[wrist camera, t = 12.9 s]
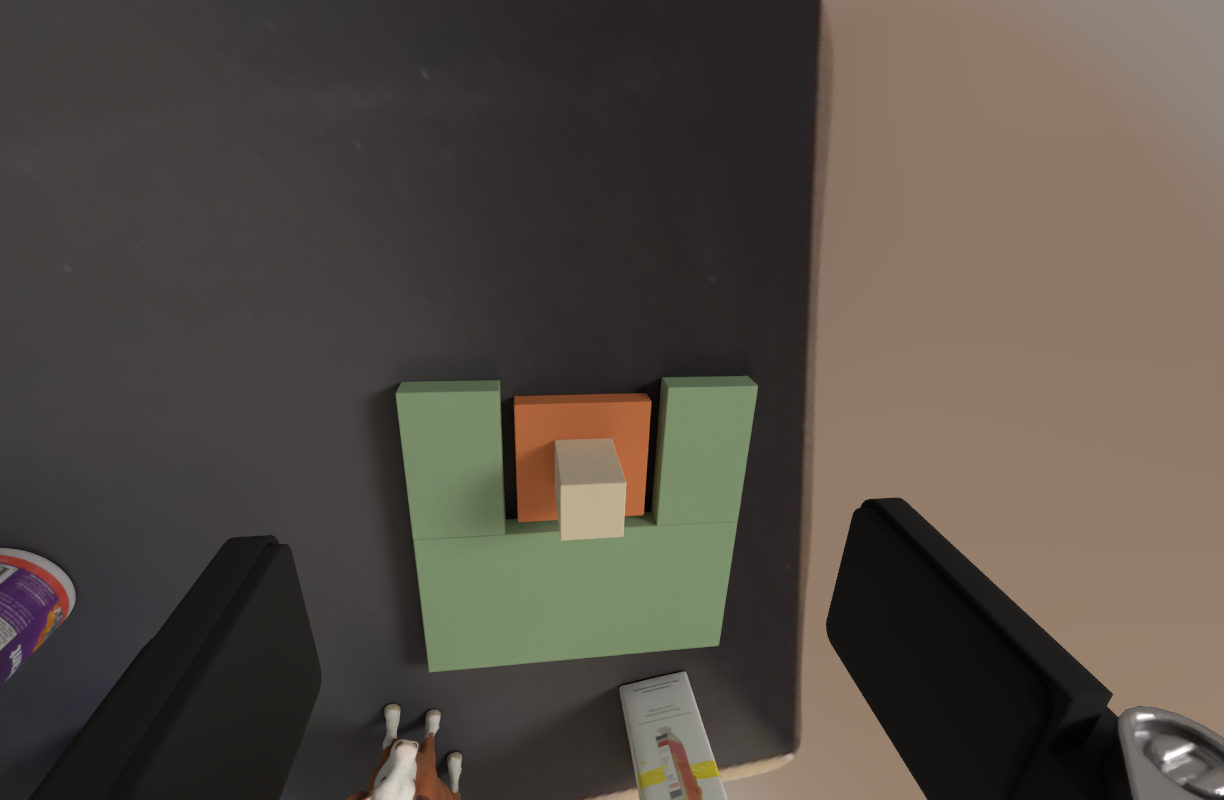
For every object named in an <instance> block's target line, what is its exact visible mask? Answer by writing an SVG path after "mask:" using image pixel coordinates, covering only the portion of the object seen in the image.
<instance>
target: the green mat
mask: <svg viewBox="0 0 1224 800" xmlns="http://www.w3.org/2000/svg"><path fill="white" fill-rule="evenodd" d="M757 389H758V386H757V385H756V384H755V383H754V382H753V381H752V380H751V379H750V378H749V377H748V376H718V377H662V380H661V393H660V406H659V419H658V431H657V444H656V457H655V470H654V483H653V496H652V508H651V511H652V512H644V514H643V515H638V516H625V519H624V536H623V537H614V538H598V539H582V540H566V541H561V540H560V535H559V526H558V520H550V521H532V522H518V519H506V515H505V491H504V467H503V443H502V419H501V395H500V381H499V380H489V381H430V382H401V384H400V386H399V388H398V389H397V391H396V393H395V395H396V403H397V412H398V420H399V428H400V437H401V445H402V453H403V462H404V470H405V478H406V487H407V495H408V503H409V512H410V520H411V528H412V537H413V544H414V552H415V560H416V569H417V577H418V585H419V594H420V602H421V610H422V619H423V627H424V635H425V644H426V652H427V660H428V669H429V672H438V671H449V670H460V669H471V668H482V667H493V666H503V665H514V664H525V663H536V662H547V661H558V660H569V659H579V658H590V657H601V656H612V655H623V654H634V653H645V652H655V651H666V650H677V649H688V648H699V647H710V646H718V645H719V641H720V634H721V627H722V621H723V614H724V607H725V601H726V594H727V587H728V581H729V574H730V567H731V561H732V554H733V547H734V540H735V534H736V527H737V521H738V516H739V509H740V502H741V496H742V489H743V482H744V476H745V469H746V462H747V456H748V449H749V442H750V436H751V429H752V422H753V416H754V409H755V403H756V396H757Z"/></svg>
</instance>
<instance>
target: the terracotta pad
mask: <svg viewBox="0 0 1224 800" xmlns="http://www.w3.org/2000/svg"><path fill="white" fill-rule="evenodd" d="M650 416H651V400H650V398H649V396H648V395H647V393H629V394H586V395H544V396H515V397H514V426H515V455H516V484H517V513H518V522H532V521H550V520H558V526H559V535H560V540H561V541H566V540H582V539H598V538H614V537H623V536H624V519H625V516H638V515H643V514H644V502H645V488H646V474H647V459H648V445H649V430H650Z"/></svg>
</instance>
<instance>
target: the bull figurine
mask: <svg viewBox="0 0 1224 800" xmlns="http://www.w3.org/2000/svg"><path fill="white" fill-rule="evenodd" d="M400 710H401V708H400V707H399V706H398V705H396V704H389V705H387V706H386V707H385V708H384V713H385V718H386V727H387V734H386V737H385V739H384V742H383V753H382V756H381V760H380V763H379V765H378V768H377V769H376V770H375V771H374V773H373V774H372V776H371V778H370V780H369V783H368V787H367V791H359V792H356V793H354V794H352V795H350V796H349V797H348V798H347V799H346V800H460V793H459V790H458V780H459V776H460V773H461V771H462V768H461V762H462V755H461V754H460V753H458V752H454V753H451V754H449V755H448V757H447V761H448V770H449V776H450V789H449V788H448V786H447V785H446V784H445V783H444V782H443V781H442V780H440V779H439V778H438V776H437V772H436V768H435V761H436V754H435V750H434V744H435V741H434V735H435V733H436V732H437V730H438V729H439V722H440V717H441V713H440V712H439V711H438V710H433V709H432V710H429V711H428V712H427V714H426V721H425V725H426V728H425V737H424V739H423V741H422V744H421V751H420V752H418V746H419V745H418V742H416V741H409V740H405V739H402V740H397V728H398V725H399V719H400Z"/></svg>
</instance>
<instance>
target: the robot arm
mask: <svg viewBox="0 0 1224 800" xmlns="http://www.w3.org/2000/svg"><path fill="white" fill-rule="evenodd" d="M826 630H827V635H828V638H829V641H830V643H831V645H832V646H833V648H834V650H835V651H836V653H837V654H838V656H839V657H840V659H841V661H842V662H843V664H844V665H845V667H846V669H847V671H848V672H849V674H850V675H851V677H852V679H853V680H854V682H855V683H856V685H857V687H858V688H859V690H860V692H861V693H862V695H863V696H864V698H865V699H866V701H867V703H868V704H869V706H870V708H871V709H872V711H873V712H874V714H875V716H876V717H877V719H878V721H879V722H880V724H881V725H882V727H883V728H884V730H885V732H886V734H887V735H888V737H889V738H890V740H891V741H892V743H893V745H894V746H895V748H896V749H897V751H898V753H899V755H900V756H901V758H902V759H903V761H904V763H905V764H906V766H907V767H908V769H909V771H910V772H911V774H912V776H913V777H914V779H915V780H916V782H917V783H918V785H919V787H920V788H921V790H922V791H923V793H924V795H925V796H926V798H927V800H1224V738H1223V737H1222V736H1220V735H1218V734H1217V733H1215V732H1214V731H1212V730H1210V729H1209V728H1207V727H1205V726H1204V725H1202V724H1200V723H1197V722H1195V721H1193V720H1191V719H1189V718H1186V717H1184V716H1182V715H1180V714H1177V713H1173V712H1170V711H1167V710H1163V709H1160V708H1155V707H1144V706H1137V707H1133V708H1129V709H1126V710H1125V711H1124V712H1123V713H1122V714H1121V715H1120V716H1119V717H1117V716H1116V715H1115V714H1114V713H1113V712H1112V711H1111V710H1110V709H1109V708H1108V707H1107V704H1108V702H1109V701H1110V699H1111V697H1112V695H1113V694H1112V693H1111V692H1110V691H1109V690H1108V689H1107V688H1106V687H1105V686H1104V685H1103V684H1102V683H1101V682H1100V681H1098V680H1097V679H1096V678H1095V677H1094V676H1093V675H1092V674H1091V673H1090V672H1089V671H1088V670H1087V669H1086V668H1084V667H1083V666H1082V665H1081V664H1080V663H1079V662H1078V661H1077V660H1076V659H1075V658H1074V657H1073V656H1072V655H1071V654H1069V653H1068V652H1067V651H1066V650H1065V649H1064V648H1063V647H1062V646H1061V645H1060V644H1059V643H1058V642H1057V641H1055V640H1054V639H1053V638H1052V637H1051V636H1050V635H1049V634H1048V633H1047V632H1045V630H1044V629H1043V628H1041V627H1040V626H1039V625H1038V624H1037V623H1036V622H1035V621H1034V620H1033V619H1032V618H1031V617H1030V616H1029V615H1027V614H1026V613H1025V612H1024V611H1023V610H1022V609H1021V608H1020V607H1019V606H1017V604H1016V603H1015V602H1013V601H1012V600H1011V599H1010V598H1009V597H1008V596H1007V595H1006V594H1005V593H1004V592H1003V591H1002V590H1000V589H999V588H998V587H997V586H996V585H995V584H994V583H993V582H992V581H991V580H990V579H989V578H988V577H987V576H985V575H984V574H983V573H982V572H981V571H980V570H979V569H978V568H977V567H976V566H975V565H974V564H973V563H971V562H970V561H969V560H968V559H967V558H966V557H965V556H964V555H963V554H962V553H961V552H960V551H959V550H957V549H956V548H955V547H954V546H953V545H952V544H951V543H950V542H949V541H948V540H947V539H946V538H944V537H943V536H942V535H941V534H940V533H939V532H938V531H937V530H936V529H935V528H934V527H933V526H932V525H931V524H929V523H928V522H927V521H926V520H925V519H924V518H923V517H922V516H921V515H920V514H919V513H918V512H917V511H915V510H914V509H913V508H912V507H911V506H910V505H909V504H908V503H907V502H906V501H904V500H903V499H901V498H882V499H869V500H865V501H864V502H863V503H862V505H861V507H860V508H858V509H856V510H855V511H854V513H853V516H852V520H851V524H850V528H849V532H848V536H847V540H846V544H845V548H844V552H843V556H842V560H841V564H840V568H839V572H838V577H837V580H836V584H835V589H834V592H833V597H832V601H831V605H830V609H829V613H828V617H827V621H826ZM320 685H321V667H320V663H319V659H318V655H317V651H316V647H315V643H314V639H313V635H312V631H311V627H310V623H309V619H308V615H307V611H306V607H305V603H304V599H303V595H302V591H301V587H300V583H299V579H298V575H297V571H296V567H295V563H294V559H293V555H292V551H291V548H290V547H289V546H288V545H287V544H279V542H278V540H277V539H276V537H275V536H272V535H268V536H251V537H235V538H231V539H228V540H227V541H226V542H225V543H224V544H223V546H222V547H221V548H220V550H219V551H218V552H217V554H216V555H215V556H214V558H213V559H212V560H211V562H210V563H209V565H208V566H207V567H206V569H205V570H204V571H203V573H202V574H201V575H200V577H199V578H198V579H197V581H196V582H195V583H194V585H193V586H192V587H191V589H190V590H189V591H188V593H187V594H186V595H185V597H184V598H183V599H182V601H181V602H180V603H179V605H178V606H177V607H176V609H175V610H174V611H173V613H172V614H171V615H170V617H169V618H168V619H167V621H166V622H165V623H164V625H163V626H162V627H161V629H160V630H159V631H158V633H157V634H156V635H155V637H154V638H153V639H151V640H150V641H149V642H148V643H147V644H146V645H145V646H144V647H143V648H142V650H141V651H140V652H139V653H138V655H137V656H136V657H135V659H134V660H133V661H132V663H131V664H130V665H129V667H128V668H127V669H126V671H125V672H124V673H123V675H122V676H121V677H120V679H119V680H118V681H117V683H116V684H115V685H114V687H113V688H112V689H111V691H110V692H109V693H108V695H107V696H106V697H105V699H104V700H103V701H102V703H101V704H100V705H99V707H98V708H97V709H96V710H95V712H94V713H93V714H92V716H91V717H90V718H89V720H88V721H87V722H86V724H85V725H84V726H83V728H82V729H81V730H80V732H79V733H78V734H77V736H76V737H75V738H74V740H73V741H72V742H71V744H70V745H69V746H68V748H67V749H66V750H65V752H64V753H63V754H62V756H61V757H60V758H59V760H58V761H57V762H56V764H55V765H54V766H53V768H52V769H51V770H50V771H49V773H48V774H47V775H46V777H45V778H44V779H43V781H42V782H41V783H40V785H39V786H38V787H37V789H36V790H35V791H34V793H33V794H32V795H31V797H30V798H29V799H28V800H279V799H280V796H281V794H282V791H283V788H284V786H285V783H286V780H287V778H288V775H289V772H290V769H291V767H292V764H293V761H294V759H295V756H296V753H297V751H298V748H299V745H300V742H301V740H302V737H303V734H304V732H305V729H306V726H307V724H308V721H309V718H310V716H311V713H312V710H313V707H314V705H315V702H316V699H317V697H318V694H319V690H320Z"/></svg>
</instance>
